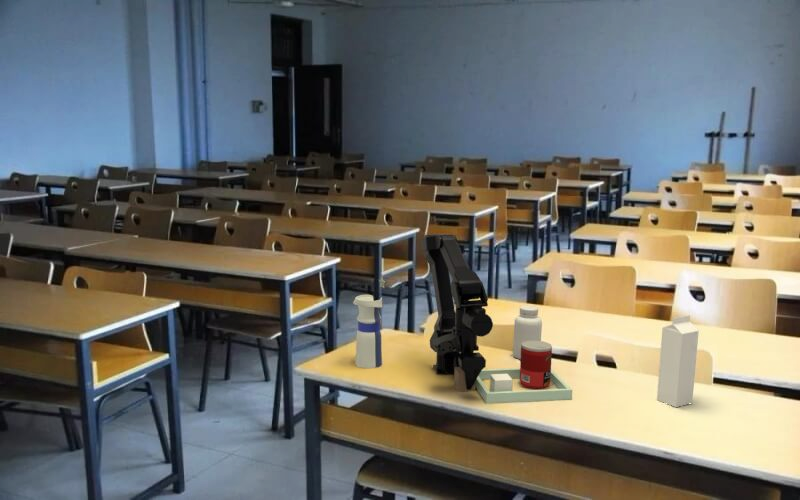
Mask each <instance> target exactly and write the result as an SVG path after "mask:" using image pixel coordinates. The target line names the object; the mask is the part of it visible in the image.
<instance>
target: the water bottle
mask: <svg viewBox="0 0 800 500" xmlns="http://www.w3.org/2000/svg"><path fill="white" fill-rule="evenodd" d="M380 277H381V278H380V279H378V281H379V283H380V284H379V287H380V288H383V289H385V283H386V281H385V280H384V279H383V276H380ZM352 304H353V305H355V306H357V308H358V315H357V316H356V320H357V322H358V323H357V332H356V339H355V341H356V342H355V343H356V344H355V366H357V367H359V368H362V369H375V368H376V367H377V368H380V367H382V365H383V351H382V350H383V346H382V345H383V343H382V341H383V340H382V336H383V335H382V330H381V326H382V317H381V314H380V308H381V309H383V308H384V307H383V297H380V299H377V300H374V296H373V295H371V294H360V295H357V296H355V298H354V300H353V301H352ZM379 366H380V367H379Z"/></svg>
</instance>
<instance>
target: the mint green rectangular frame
mask: <svg viewBox="0 0 800 500" xmlns="http://www.w3.org/2000/svg"><path fill="white" fill-rule="evenodd" d="M490 374H508V375H509V376H510V377H511V378H512V379H520V367H512V368H509V367H508V368H493V369H492V368H490V369H488V368H487V369H485V368H484V369H482V371H481V372H480V374H479V375H478V377H477V379H476V381H475V389H477V392H479V394H480V396H481V398H483V401H484V402H485V404H498V403H499V404H500V403H518V402H519V403H521V402H522V403H523V402H543V401H546V402H547V401H561V400H562V401H565V400H567V401H568V400H573V389H572V388H571V387H570V386H569V385H568V384H567V383H566V382H565V381H564V380H563V379H562V378H561V377H560V376H559V375H558V373H556V372H555V371H554V370H553V369H552V368H551V377H550V383H552V384H553V386H555V388H551V389H550V388H548V389H547V388H546V389H527V390H512V391H502V392H490V389H489V388H488V387H487V386H486V385H485V383H484V381H483V380H485V381H487V380H490Z"/></svg>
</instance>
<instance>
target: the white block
mask: <svg viewBox="0 0 800 500" xmlns="http://www.w3.org/2000/svg"><path fill="white" fill-rule="evenodd" d="M513 382H514V379H513V378H511V377H510V376H509V375H508V374H490V379H489V392H502V391H513Z"/></svg>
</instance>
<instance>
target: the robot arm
mask: <svg viewBox="0 0 800 500" xmlns="http://www.w3.org/2000/svg"><path fill="white" fill-rule="evenodd" d="M457 238H458V237H457V236H456V235H455V234H452V233H448V234H447V233H437V234H435V233H433V234H432V233H431V234H425V235H424V237H423V238H421V240H420V249H421V251H422V254H423V258H424V259H425V261H426V262H427V263H428V264H429V266H430V268H431V275H432V283H433V288H434V289H433V290H434V295H435V296H434V297H435V301H436V308H437V309H436V310H437V315H438V316H437V318H436V321H435V323H434V326H433V332H432V334H431V336H430V338H429V348H430V349H431V350H432V351H433V352H434V353H436V356H435V357H436V361H435V363H436V364H433V366H432V367H433V369H434V371H435V372H436V374H438V375H442V374H455V367H460V368H461V369H462V370H463V371H464V375H465V383H466V389H467V390H471V388H472V387H473V385H474V383H475V381H476V379H477V377H478V375H479V374H480V372H481V371H482V370H484V369H485V368H486V366H487V360H486V358H485V357H484V356H483V354H481V353H480V352H477V351H479V350H480V349H479V345H478V337H481V338H483V337H485V336H487V335H489V334H490V332H492V329H493V327H494V322H493V320H492V318H491V316H490V315H488V314H487V313H486V312H487V311H486V309H487V308H486V307H488V305H489V304H488V300H489V298H488V295H487V292H486V289H485V285H484V283H483V281H482V280H481V278H480V277H479V275H478V274H477V272H475V271H474V270H472V269H470V267H469V266H468V264H467V262H466V260H465V258H464V257H465V256H463V254H462V252H461V249H460V246H459V245H458V239H457ZM450 276H451V278H450ZM451 279H452V280H451ZM484 307H485V308H484Z"/></svg>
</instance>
